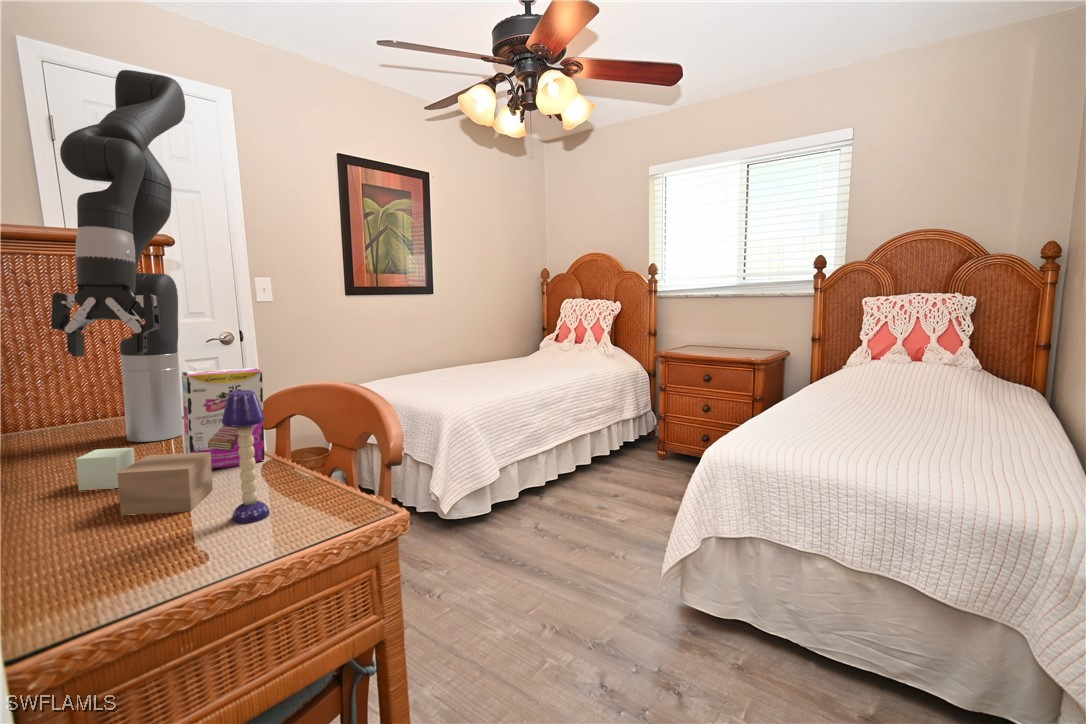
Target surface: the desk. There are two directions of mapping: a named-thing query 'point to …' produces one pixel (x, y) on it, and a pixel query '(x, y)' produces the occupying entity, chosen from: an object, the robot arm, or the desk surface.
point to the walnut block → (165, 483)
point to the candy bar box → (218, 413)
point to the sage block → (103, 467)
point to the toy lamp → (246, 451)
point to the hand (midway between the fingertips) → (108, 356)
